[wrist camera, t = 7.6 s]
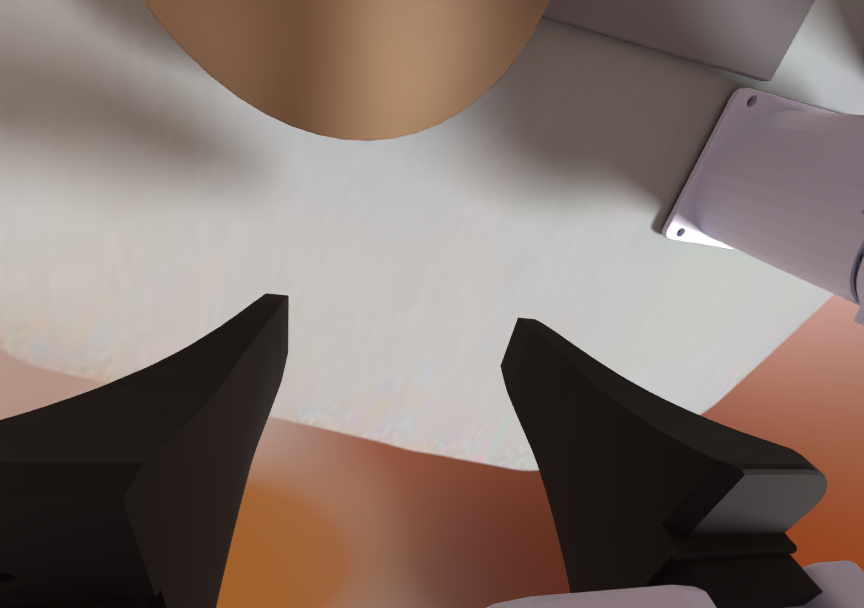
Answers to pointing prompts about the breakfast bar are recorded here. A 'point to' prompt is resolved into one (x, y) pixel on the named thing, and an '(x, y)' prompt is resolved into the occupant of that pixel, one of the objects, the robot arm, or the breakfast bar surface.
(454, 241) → the breakfast bar surface
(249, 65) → the lid
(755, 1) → the mat
